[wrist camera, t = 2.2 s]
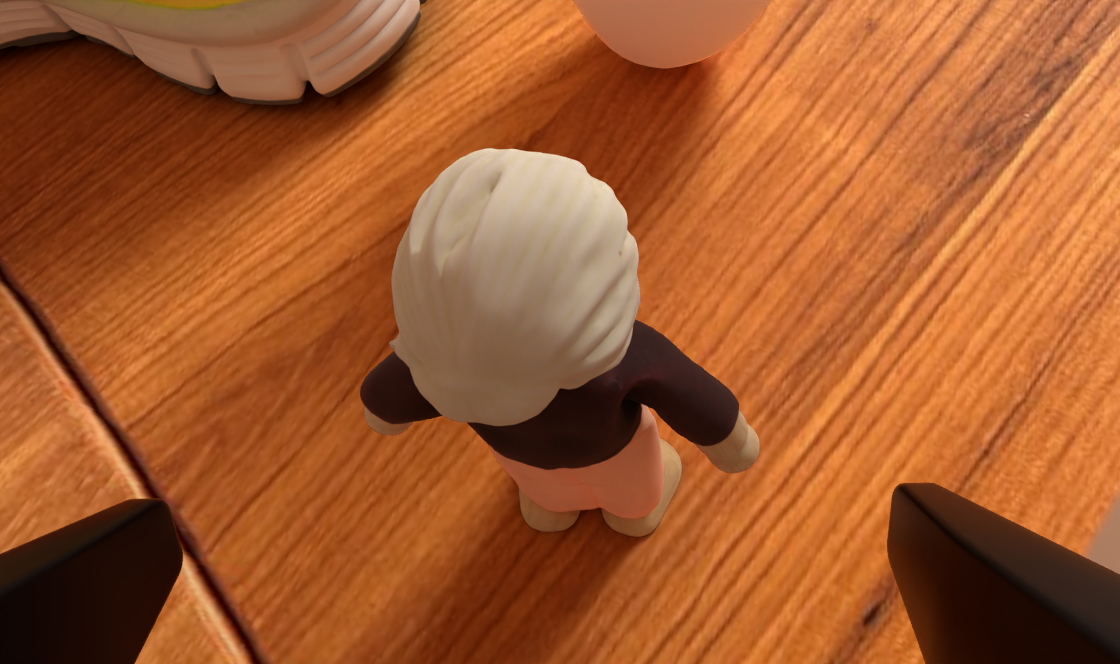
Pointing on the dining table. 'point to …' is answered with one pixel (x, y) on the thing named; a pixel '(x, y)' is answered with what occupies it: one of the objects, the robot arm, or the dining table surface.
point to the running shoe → (229, 39)
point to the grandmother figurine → (545, 344)
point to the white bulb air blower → (669, 27)
